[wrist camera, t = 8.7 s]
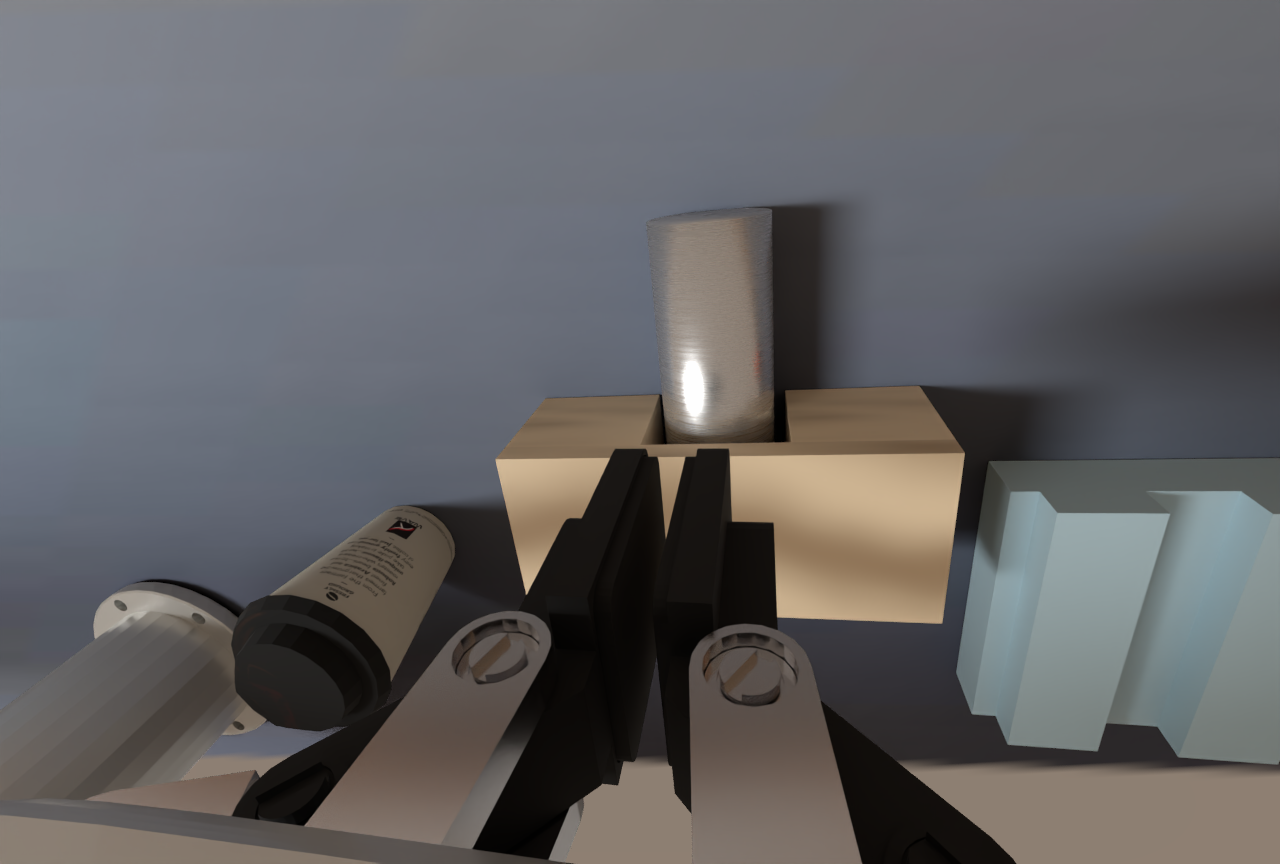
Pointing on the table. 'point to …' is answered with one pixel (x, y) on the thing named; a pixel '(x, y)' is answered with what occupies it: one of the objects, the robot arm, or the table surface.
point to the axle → (714, 324)
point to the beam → (775, 492)
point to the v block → (1128, 604)
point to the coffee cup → (342, 624)
